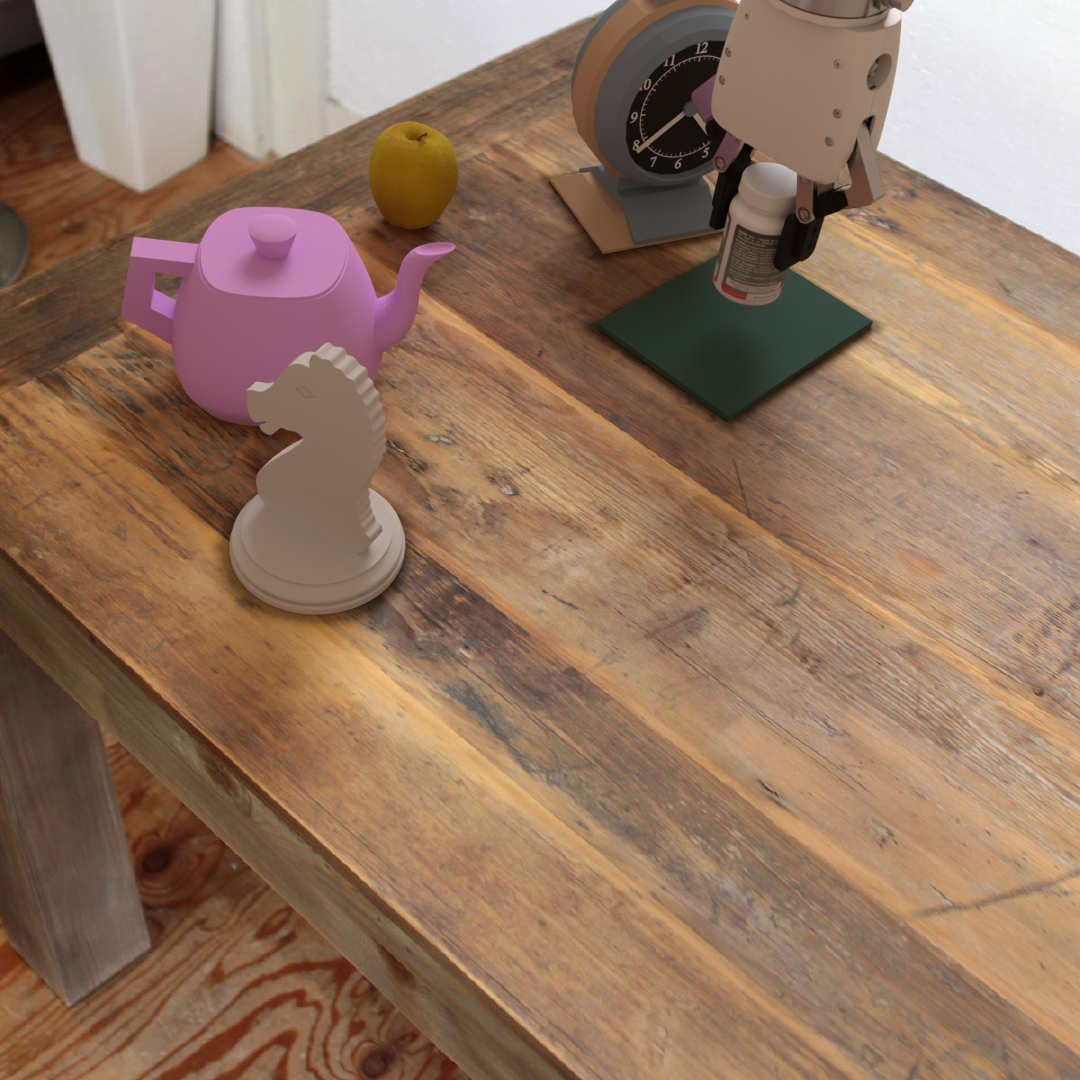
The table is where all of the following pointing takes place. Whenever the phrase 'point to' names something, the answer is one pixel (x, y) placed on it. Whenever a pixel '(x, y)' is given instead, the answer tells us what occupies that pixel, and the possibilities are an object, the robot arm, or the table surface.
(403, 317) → the teapot
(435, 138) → the apple
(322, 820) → the table surface
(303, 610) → the chess piece
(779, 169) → the pill bottle
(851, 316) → the mat
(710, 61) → the alarm clock
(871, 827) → the table surface
